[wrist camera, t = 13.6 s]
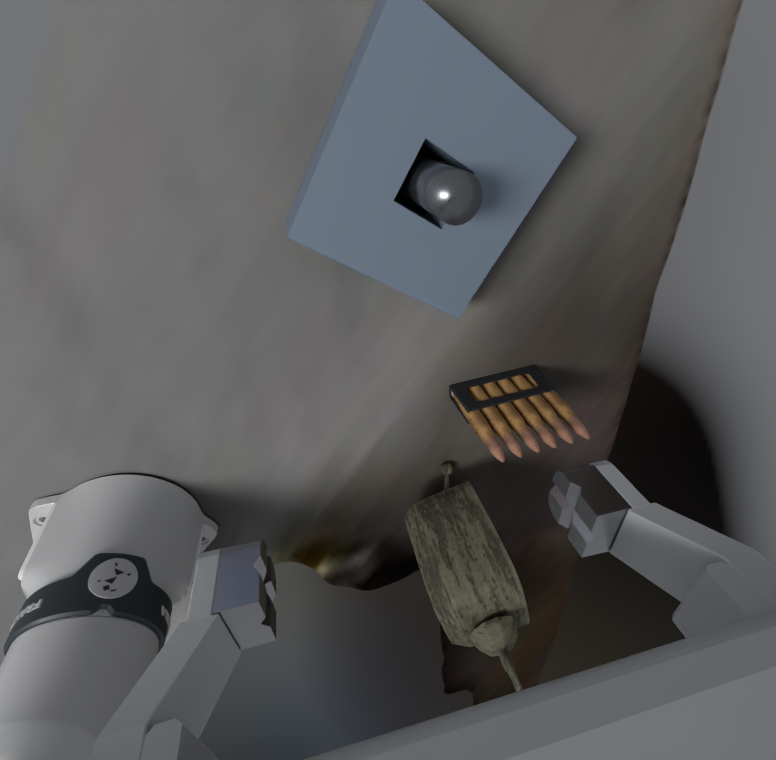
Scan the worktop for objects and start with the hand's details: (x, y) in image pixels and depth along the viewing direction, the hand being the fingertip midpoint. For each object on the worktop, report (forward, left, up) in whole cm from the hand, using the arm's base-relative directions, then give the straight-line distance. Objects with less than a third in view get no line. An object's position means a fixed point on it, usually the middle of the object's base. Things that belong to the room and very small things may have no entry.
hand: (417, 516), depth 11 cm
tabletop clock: (-25, -29, -29) cm, 48 cm away
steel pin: (+8, -5, -29) cm, 31 cm away
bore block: (+8, -5, -29) cm, 31 cm away
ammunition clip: (-6, -25, -29) cm, 39 cm away
